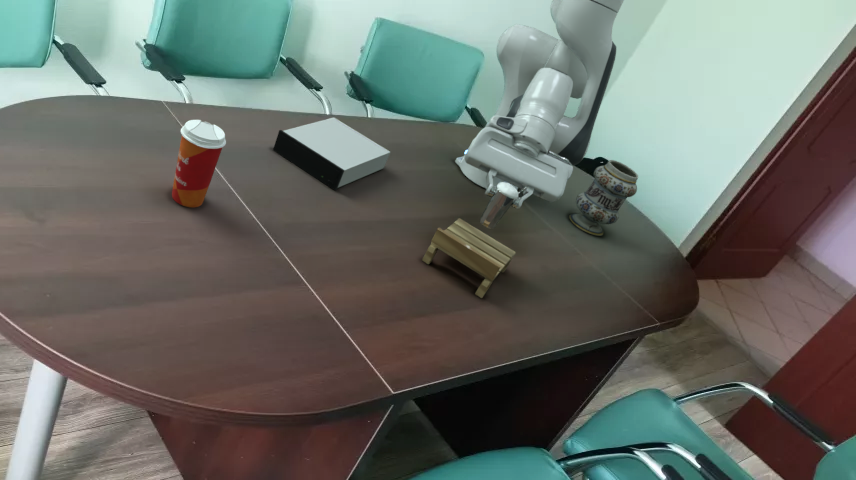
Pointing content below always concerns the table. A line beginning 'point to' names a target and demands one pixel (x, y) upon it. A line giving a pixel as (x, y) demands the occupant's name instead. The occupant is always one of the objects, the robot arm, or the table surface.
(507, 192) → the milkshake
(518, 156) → the robot arm
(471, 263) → the brown wooden slatted bench
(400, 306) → the table surface
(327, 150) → the disc drive
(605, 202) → the apothecary jar
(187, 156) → the paper cup
